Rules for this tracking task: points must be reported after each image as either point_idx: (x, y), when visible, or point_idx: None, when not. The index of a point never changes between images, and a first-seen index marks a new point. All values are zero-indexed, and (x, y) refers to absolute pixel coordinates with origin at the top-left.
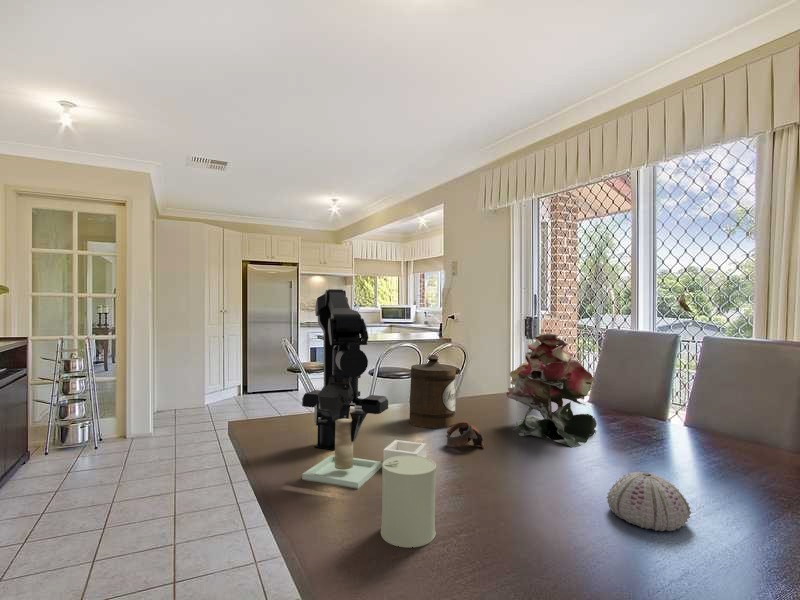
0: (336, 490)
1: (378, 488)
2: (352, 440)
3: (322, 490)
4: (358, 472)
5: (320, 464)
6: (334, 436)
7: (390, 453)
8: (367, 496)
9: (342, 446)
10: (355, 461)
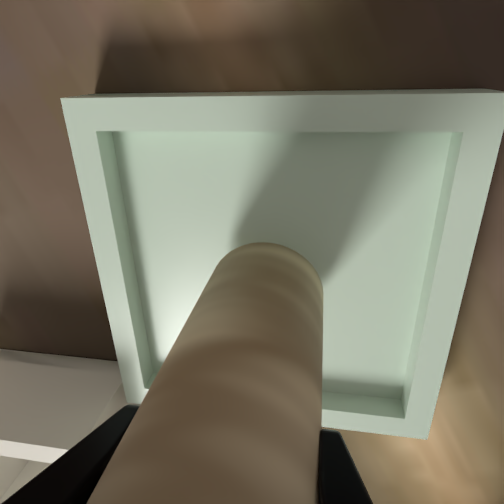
0: (217, 74)
1: (44, 186)
2: (123, 412)
3: (298, 35)
4: (193, 293)
5: (436, 295)
6: (328, 454)
7: (47, 431)
8: (27, 69)
9: (207, 335)
10: None
